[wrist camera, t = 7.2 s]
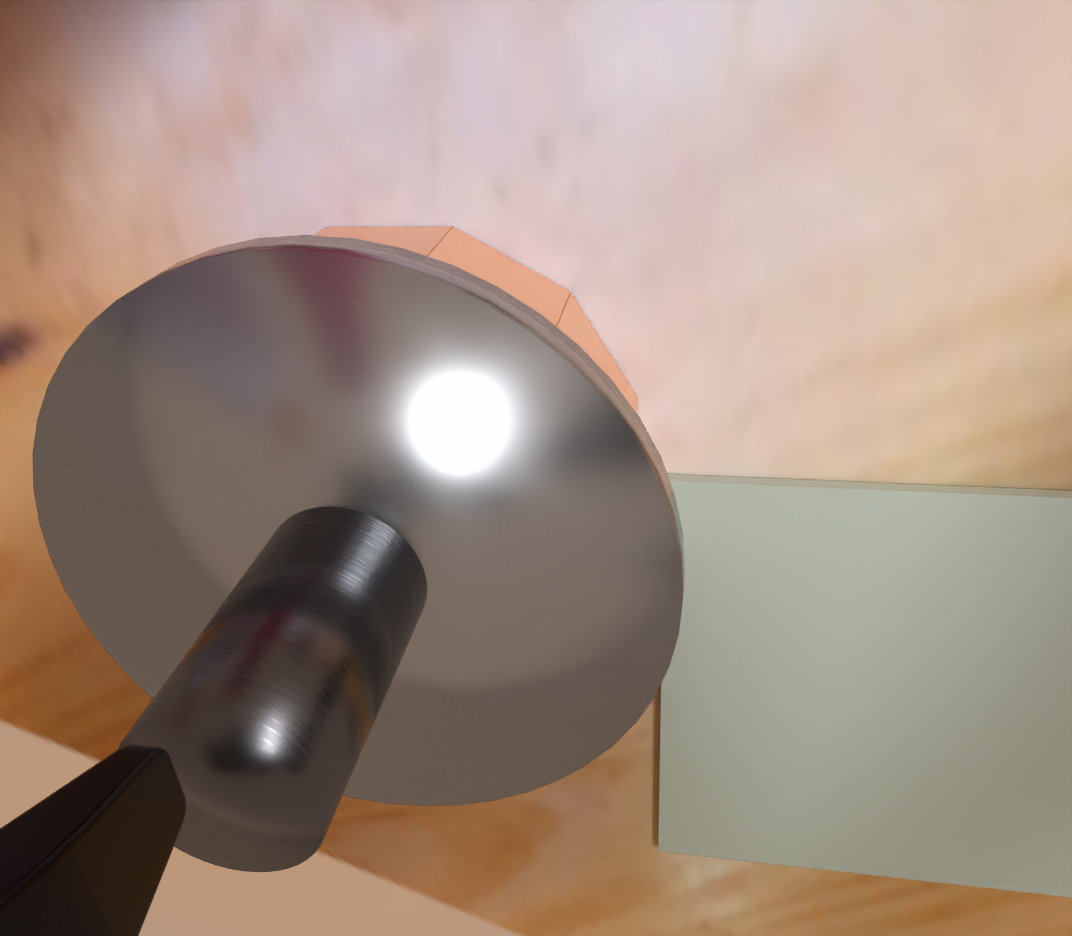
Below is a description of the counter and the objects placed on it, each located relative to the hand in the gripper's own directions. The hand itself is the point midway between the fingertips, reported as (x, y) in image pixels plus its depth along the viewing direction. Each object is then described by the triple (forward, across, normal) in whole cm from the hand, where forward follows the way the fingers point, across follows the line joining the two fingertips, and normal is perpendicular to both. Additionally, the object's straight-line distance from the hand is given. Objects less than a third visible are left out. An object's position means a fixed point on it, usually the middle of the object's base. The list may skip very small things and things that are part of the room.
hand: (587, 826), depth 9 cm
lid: (+7, +6, +2) cm, 9 cm away
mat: (+12, -6, +9) cm, 16 cm away
